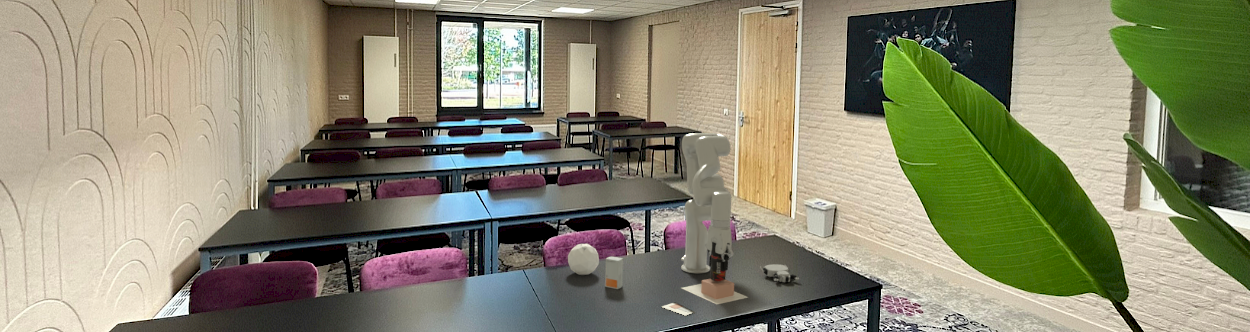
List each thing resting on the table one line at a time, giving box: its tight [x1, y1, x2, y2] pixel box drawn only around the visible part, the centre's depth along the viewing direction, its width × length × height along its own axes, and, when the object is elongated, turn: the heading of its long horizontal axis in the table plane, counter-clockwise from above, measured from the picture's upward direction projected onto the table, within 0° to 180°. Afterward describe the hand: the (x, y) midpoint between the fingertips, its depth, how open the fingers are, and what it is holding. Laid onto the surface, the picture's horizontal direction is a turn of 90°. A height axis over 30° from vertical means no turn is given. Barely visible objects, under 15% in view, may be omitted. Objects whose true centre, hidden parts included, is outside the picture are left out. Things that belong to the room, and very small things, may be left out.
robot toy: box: [759, 264, 800, 283], centre depth 309 cm, size 12×4×15 cm
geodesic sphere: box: [567, 243, 600, 276], centre depth 308 cm, size 14×14×14 cm
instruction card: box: [661, 301, 696, 317], centre depth 270 cm, size 12×9×1 cm
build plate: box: [681, 283, 749, 305], centre depth 286 cm, size 22×16×1 cm
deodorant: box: [709, 242, 727, 281], centre depth 283 cm, size 6×6×15 cm
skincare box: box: [604, 256, 624, 290], centre depth 293 cm, size 6×4×12 cm
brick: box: [700, 278, 735, 299], centre depth 284 cm, size 9×9×5 cm
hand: (718, 267), depth 283 cm, fingers closed on deodorant, 5 cm apart
